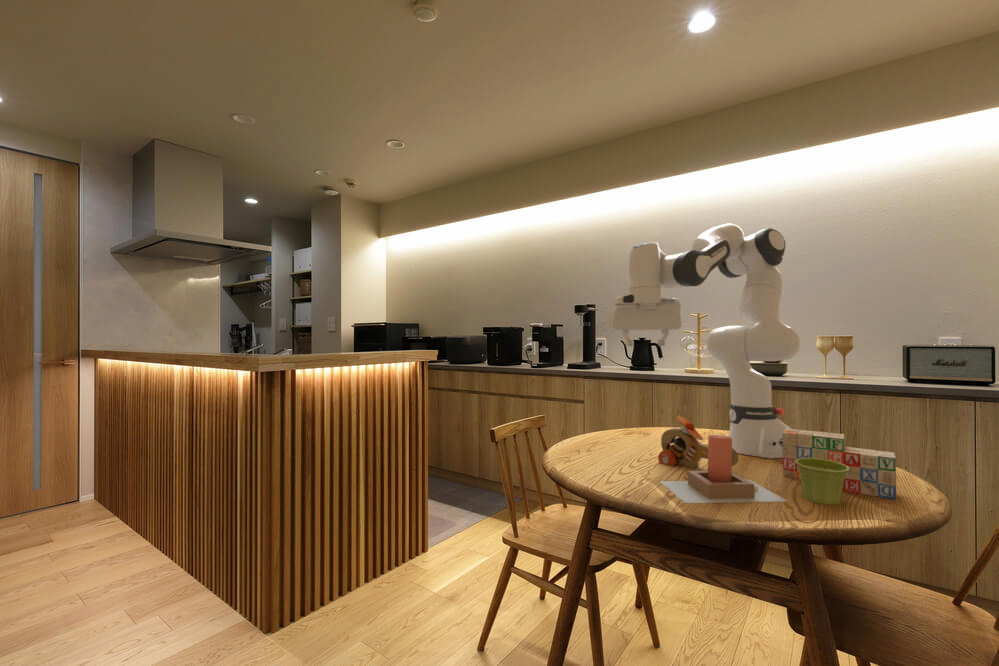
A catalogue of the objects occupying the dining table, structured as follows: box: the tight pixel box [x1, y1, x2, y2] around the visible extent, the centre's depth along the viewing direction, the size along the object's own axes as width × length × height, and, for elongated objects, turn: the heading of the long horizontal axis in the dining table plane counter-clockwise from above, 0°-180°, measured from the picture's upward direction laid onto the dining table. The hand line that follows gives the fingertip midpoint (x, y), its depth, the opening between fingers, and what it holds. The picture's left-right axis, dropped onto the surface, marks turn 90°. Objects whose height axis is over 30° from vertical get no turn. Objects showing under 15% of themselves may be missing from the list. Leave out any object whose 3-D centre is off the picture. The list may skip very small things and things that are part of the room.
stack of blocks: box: [782, 428, 897, 500], centre depth 108 cm, size 21×6×12 cm, turn 51°
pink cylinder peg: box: [707, 434, 733, 483], centre depth 102 cm, size 5×5×12 cm
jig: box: [659, 470, 788, 504], centre depth 102 cm, size 22×14×4 cm, turn 92°
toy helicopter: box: [657, 415, 739, 469], centre depth 120 cm, size 8×21×14 cm, turn 36°
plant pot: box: [795, 458, 849, 505], centre depth 97 cm, size 9×9×9 cm
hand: (645, 345), depth 132 cm, fingers open, 8 cm apart
